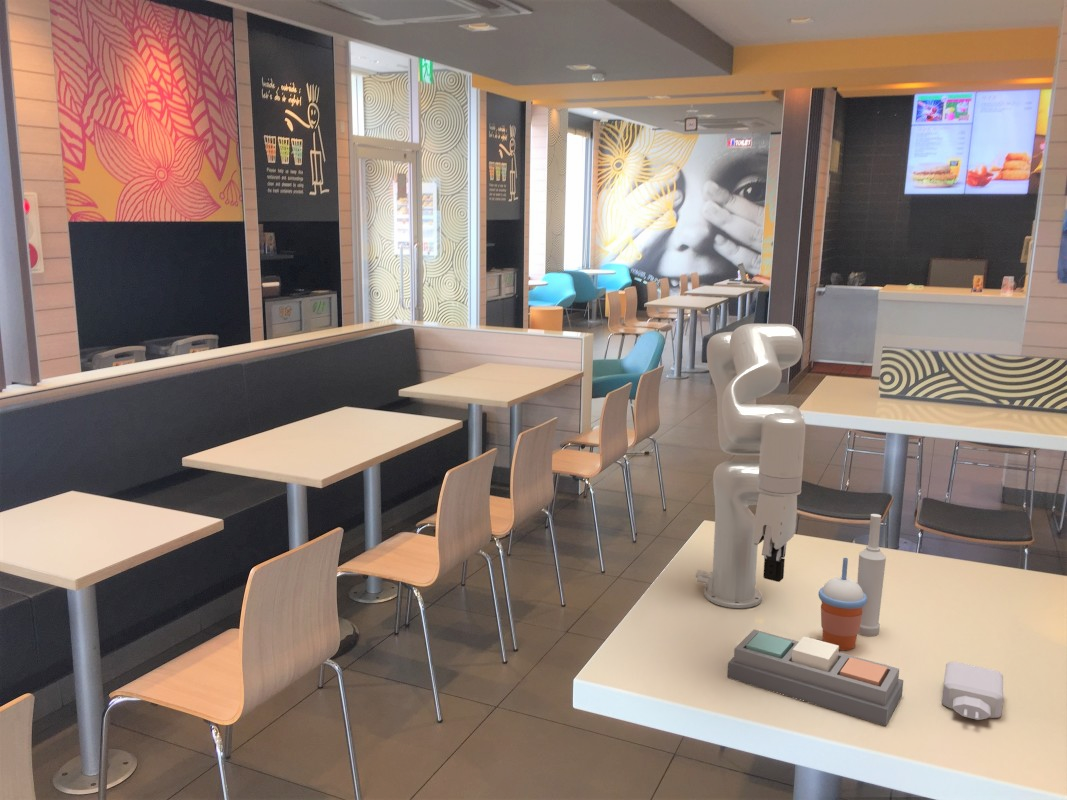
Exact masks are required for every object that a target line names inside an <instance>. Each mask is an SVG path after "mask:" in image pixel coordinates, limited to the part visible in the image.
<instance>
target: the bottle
mask: <svg viewBox="0 0 1067 800" xmlns="http://www.w3.org/2000/svg"><path fill="white" fill-rule="evenodd" d="M869 519H870V520H869V532H868V534H869V535H868V544H867V545H866V547H865V549H863V550H862V551H859V553H858V554H859V555H858V568H857V569H858V570H857V581H856V583H857V584H858V585H859V586H860V587H861V589H862V591H863V593H864V594H865V595H866V597H867V603H866V605H865V606H863V607H862V611H863V612H862V618H861V623H860V628H859V633H858V634H857V635H861V636H865V637H866V636H867V637H874V636H877V635H879V631H880V628H881V627H880V626H881V624H880V612H881V605H882V604H881V603H882V595H883V587H884V580H885V579H884V578H885V570H886V563H887V562H886V560H887V556H886V555H885V554H884V553H883V552H882V551H881V547H880V546H879V545H880V533H881V532H880V531H881V524H882V523H881V521H882V515H880V514H879V513H870V518H869Z"/></svg>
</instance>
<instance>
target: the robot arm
mask: <svg viewBox="0 0 1067 800" xmlns="http://www.w3.org/2000/svg"><path fill="white" fill-rule="evenodd" d="M803 344H804V343H803V338H802V336H801V333H800V331H799V330H798V329H797V328H796V326H793V325H792V324H789V323H746V324H743V325H740V326H738V327H737V328H735V330H733V331H724V332H719V333H716V334H714V335H712V336H711V337H710V338H709V339H708V342H707V345H706V360H707V362H706V363H707V368H708V371H709V375H710V377H711V380H712V383H713V385H714V389H715V392H716V399H717V400H716V401H717V402H716V403H717V404H716V405H717V433H718V435H717V437H718V444H719V447H720V449H721V450H722V451H723V453H726V454H729V455H735V456H759V460H739V459H738V460H736V459H735V460H727V461H723V462H720V464H718V465H717V466H716V467H715V468H714V471H713V475H712V484H713V486H712V487H713V494H714V510H715V511H714V513H715V515H714V536H713V537H714V538H713V540H714V541H713V556H712V557H713V558H712V559H713V560H712V571H711V572H707V571H704V570H703V571H702V570H700V569H698V570H697V571H696V573H695V578H696V582H697V583H700V584H705V586H706V587H705V588H704V597H705V598H706V599H707V601H709V602H711V603H713V604H715V605H718V606H722V607H725V608H731V609H748V608H752V607H755V606H757V605H760V603H762V600H763V599H762V598H763V595H762V592H761V591H760V590H759V589H758V588H757V587H756V583H757V582H756V580H757V563H758V561H757V560H758V547H759V546H758V545H760V544H761V543H763V544H762V549H761V555H762V556H763V559H764V561H763V579H765V580H769V581H773V582H779V583H780V582H781V581H782V580H784V576H785V575H784V574H785V560H786V559H785V556H786V551H787V543H788V542H789V541H790V540H791V539H792V538H793V537H794V535H795V533H796V527H797V512H798V495H801V493H802V485H803V484H802V482H803V480H802V479H803V470H804V469H803V468H804V454H805V442H806V421H805V416H804V414H802V412H801V411H800V409H799V408H798V407H797V406H795V405H791V404H763V403H762V404H760V403H759V404H757V399H759V398H761V397H763V396H767V395H768V394H770V393H771V392H774V390H776V388H778V387H779V385H780V383H781V381H782V379H783V378H782V377H783V373H782V371H783V370H785V369H788V368H790V367H791V368H792V367H793V366H794V365H796V364H797V363H798V362H799V361H800V359H801V358H802V357H801V356H802V354H803V347H804V346H803ZM755 505H756V509H755V514H754V513H753V511H751V509H750V508H749V506H755Z"/></svg>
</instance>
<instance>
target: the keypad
mask: <svg viewBox="0 0 1067 800" xmlns="http://www.w3.org/2000/svg"><path fill="white" fill-rule="evenodd" d="M758 633H763V634H767V635H770V636H774V637H778V638H782V639H785V640H789V641H792V648H791V649H790V650H789V651H788V652H787V654H786V655H785V656H784V657H783V658H782V659H781V658H777V657H774V656H770V655H767V654H763V653H759V652H756V651H752V650H749V649H746V645H747V644H748V643H749V642H750V641H751V640H752V639H753V638H754V637H755V636H756V635H757V634H758ZM798 643H799V641H798V640H796V639H795V640H794V639H790V638H787V637H783V636H779V635H775V634H772V633H769V632H768V633H767V632H764V631H761V630H757V629H752V631H750V632H749V633H748V634H747V635H746V636H745V637H744V638H743V640H741V641H740V643H739V644H737V645H736V646H735V648H734V649H733V650H734V651H733V652H734V653H733V656H732V658H731V659H730V660H729V661H728V662H727V672H726V674H727V676H726V678H727V677H728V678H727V679H731V680H733V679H734V681H737V682H741V683H743V682H744V683H743V684H747V685H751V686H753V687H755V688H760V689H764V690H766V689H767V690H766V691H769V690H770V691H769V692H773V691H774V693H776V692H778V693H777V694H779V693H781V694H780V695H782V694H784V695H783V696H786V695H787V697H789V696H790V697H789V698H792V697H794V698H793V699H795V698H797V699H796V700H799V699H801V700H800V701H802V700H804V701H803V702H805V701H807V702H806V703H808V702H809V703H808V704H811V705H815V704H816V705H815V706H818V705H819V707H821V706H823V707H822V708H825V707H826V708H825V709H828V708H829V709H828V710H831V709H833V710H832V711H835V710H836V712H838V711H839V712H838V713H841V712H842V713H841V714H844V713H845V715H848V716H850V717H854V718H857V717H858V718H857V719H862V720H864V721H867V720H868V722H870V721H871V723H875V724H877V725H881V726H884V727H886V726H887V724H888V723H889V720H890V718H891V717H892V715H893V713H894V711H895V710H896V708H897V706H898V705H899V702H900V700H901V699H902V696H903V691H904V689H903V688H904V679H900V678H899V677H900V676H899V675H900V668H899V667H894V666H891V665H887V664H885V663H880V662H876V661H872V660H869V659H865V658H861V657H858V656H853V655H850V654H846V653H842V652H839V653H838V662H837V663H836V664H835V666H834V667H833V668H832V670H831V671H830V672H826V671H823V670H819V669H816V668H812V667H809V666H805V665H802V664H798V663H795V662H792V650H793V648H794V647H795V646H796V645H797V644H798ZM850 657H852V658H855V659H859V660H863V661H867V662H870V663H874V664H878V665H881V666H885V667H888V668H887V676H886V678H885V680H884V682H883V683H882V685H881V687H879V686H876V685H872V684H869V683H865V682H862V681H858V680H855V679H851V678H848V677H844V676H841V675H840V671H841V670H842V668H843V667H844V665H845V664H846V662H847V661H848V660H849V658H850Z"/></svg>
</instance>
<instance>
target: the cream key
mask: <svg viewBox="0 0 1067 800" xmlns="http://www.w3.org/2000/svg"><path fill="white" fill-rule="evenodd" d="M798 642H799V643H798V644H797V645H796V646H795V647H794V648H793V650H792V662H795V663H798V664H802V665H805V666H809V667H812V668H816V669H819V670H823V671H826V672H830V671H831V670H832V668H833V667H834V666H835V664H836V663H837V662H838V653H840V650H839V646H838V645H835V644H831V643H827V642H823V640H819V639H815V638H812V637H807V636H802V638H801V639H799V641H798Z"/></svg>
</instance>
